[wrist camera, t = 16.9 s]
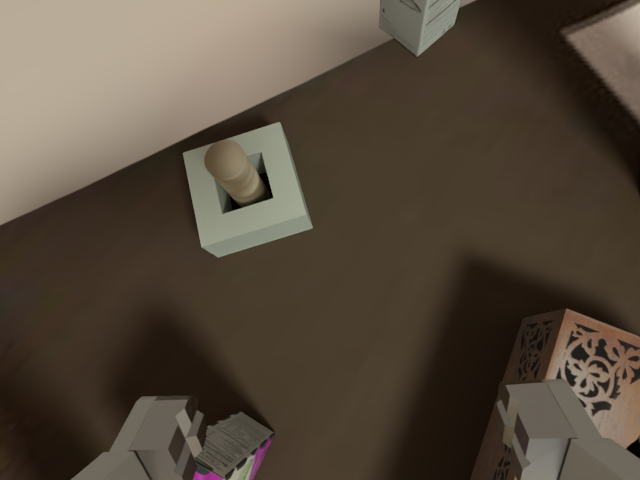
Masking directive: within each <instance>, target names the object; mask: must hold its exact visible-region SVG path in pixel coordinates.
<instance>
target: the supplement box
mask: <svg viewBox="0 0 640 480" xmlns="http://www.w3.org/2000/svg"><path fill="white" fill-rule="evenodd" d="M460 3H461V0H380V24H379V25H380V26H379V27H380V29H382V30H383V31H385V32H386V33H388V34H389V35H390V36H392V37H393V38H395V39H396V40H397V41H398V42H400V43H401V44H402V45H403V46H405V47H406V48H407V49H408V50H410V51H411V52H412V53H413V54H414V55H415V56H417V57H418V56H419V55H420V54H421V53H422V52H424V51H425V50H426V49H427V48H428V47H429V46H430V45H432V44H433V43H434V42H435V41H436V40H437V39H438V38H440V37H441V36H442V35H443V34H444V33H445V32H446V31H447V30H449V29H450V28H451V27H452V26H453V25H454V24H455V20H456V17H457V13H458V10H459V6H460Z"/></svg>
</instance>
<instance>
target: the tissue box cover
mask: <svg viewBox="0 0 640 480" xmlns="http://www.w3.org/2000/svg"><path fill="white" fill-rule="evenodd" d="M538 379H540V380H546V379H565V380H566V381H567V382H568V383H569V385H570V386H571V388H572V390H573V391H574V393H575V394H576V396H577V397H578V399H579V401H580V402H581V404H582V405H583V407H584V409H585V410H586V412H587V413H588V415H589V417H590V418H591V420H592V421H593V423H594V425H595V426H596V428H597V429H598V431H599V433H600V434H601V436H602V437H603V438H610V439H612V440H613V441H615V442H616V443H618V444H619V445H620V446H622V447H623V448H625V449H626V450H628V451H629V452H631V453H632V454H633V455H635V456H636V457H638V458H639V459H640V337H639V336H637V335H634V334H632V333H629V332H626V331H624V330H621V329H619V328H616V327H614V326H611V325H608V324H606V323H603V322H601V321H598V320H595V319H593V318H590V317H588V316H585V315H583V314H580V313H577V312H575V311H572V310H570V309H567V308H566V309H561V310H556V311H552V312H547V313H543V314H538V315H533V316H529V317H524V318H523V320H522V323H521V326H520V329H519V332H518V335H517V338H516V341H515V344H514V347H513V350H512V353H511V356H510V359H509V362H508V365H507V368H506V371H505V374H504V377H503V380H502V381H520V380H538ZM499 400H501V398H500V395H499V393H498V396H497V399H496V402H495V405H494V408H493V411H492V414H491V417H490V420H489V423H488V426H487V429H486V432H485V435H484V438H483V441H482V444H481V447H480V450H479V454H478V457H477V460H476V463H475V466H474V469H473V472H472V475H471V478H470V480H517V479H516V476H515V473H514V471H513V468H512V466H511V463H510V460H509V456H510V450H511V449H510V448H509V447H508V446H507V445H506V444H505V443H503V442H502V439H501V436H500V434H499V430H498V427H497V422H496V413H495V411H496V403H497V402H498V401H499Z"/></svg>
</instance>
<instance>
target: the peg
mask: <svg viewBox="0 0 640 480" xmlns="http://www.w3.org/2000/svg"><path fill="white" fill-rule="evenodd" d="M204 163H205V167H206V169H207V170H208V171H209V172H210V174H211V175H212V176H213V177H214V178H215V179H216V180H217V181H218V182H219V184H220V185H221V186H222V187H223V188H224V189H225V190H226V191H227V192H228V194H229V195H230V196H231V197H232V198H233V199H234V200H235V201H236V202H237V204H238V205H239V206H240V207H241V208H243V207H247V206H250V205H253V204H256V203H259V202H263V201H266V200H269V199H271V196H270V192H269V190H268V189H267V187H266V186H265V184H264V182H263V181H262V179H261V178H260V176H259V175H258V173H257V171H256V170H255V168H254V167H253V165H252V163H251V162H250V160H249V159H248V157H247V155H246V154H245V152H244V151H243V149H242V148H241V146H240V145H239V144H238V143H237V142H235V141H232V140H220V141H218V142H216V143H214V144H213V145H211V146H210V147H209V149H208V150H207V152H206V154H205V158H204Z"/></svg>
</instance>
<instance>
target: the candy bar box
mask: <svg viewBox="0 0 640 480" xmlns="http://www.w3.org/2000/svg"><path fill="white" fill-rule="evenodd" d="M274 435H275V432H273V431H271V430H270V429H268V428H267V427H265V426H263V425H261V424H260V423H258V422H256V421H255V420H253V419H252V418H250V417H249V416H247V415H246V414H244V413H243V412H241V411H239V412H237V413H235V414H232V415H230V416H228V417H226V418H224V419H222V420H220V421H218V422H216V423H214V424H211V425H209V426H207V432H206V441H205V444H204V447H203V450H202V451H201V452H200V453H199V454H198V455H197V456H196V457H195V461H196V464H197V469H196V472H195V475H194V478H193V480H253V479H254V477H255V475H256V473H257V470H258V468H259V466H260V464H261V462H262V460H263V458H264V456H265V454H266V452H267V450H268V448H269V445H270V443H271V441H272V439H273V437H274Z"/></svg>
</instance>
